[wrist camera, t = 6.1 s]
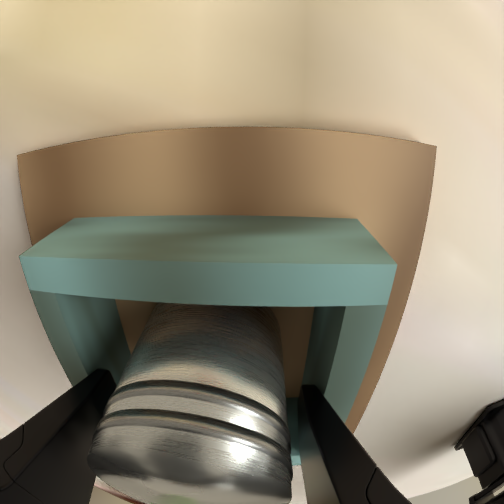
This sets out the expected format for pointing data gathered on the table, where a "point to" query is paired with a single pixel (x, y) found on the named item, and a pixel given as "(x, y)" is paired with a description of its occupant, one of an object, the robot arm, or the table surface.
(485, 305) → the table surface
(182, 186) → the board
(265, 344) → the piston
